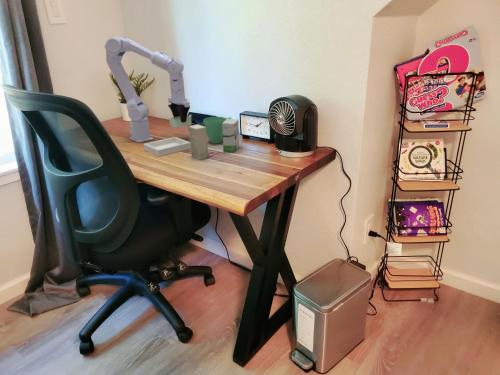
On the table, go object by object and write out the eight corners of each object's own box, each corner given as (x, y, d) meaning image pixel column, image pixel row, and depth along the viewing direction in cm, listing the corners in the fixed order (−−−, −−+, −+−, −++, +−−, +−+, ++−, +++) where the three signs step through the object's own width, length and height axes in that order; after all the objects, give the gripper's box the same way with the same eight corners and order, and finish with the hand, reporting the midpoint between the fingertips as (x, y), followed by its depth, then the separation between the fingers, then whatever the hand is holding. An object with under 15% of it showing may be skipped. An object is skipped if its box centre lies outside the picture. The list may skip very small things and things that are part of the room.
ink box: (234, 152, 156) (233, 123, 152) (223, 152, 157) (221, 123, 153) (239, 146, 164) (238, 118, 160) (228, 145, 165) (227, 118, 161)
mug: (214, 146, 164) (212, 123, 160) (200, 142, 171) (198, 119, 167) (240, 139, 174) (239, 117, 170) (226, 135, 180) (225, 113, 176)
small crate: (170, 126, 172) (169, 118, 171) (185, 122, 177) (184, 115, 176) (175, 128, 169) (175, 120, 168) (191, 124, 174) (190, 117, 172)
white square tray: (144, 149, 163) (143, 143, 162) (175, 142, 172) (175, 136, 171) (158, 156, 154) (157, 150, 153) (191, 148, 163) (190, 142, 162)
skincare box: (208, 157, 152) (206, 126, 147) (198, 160, 149) (196, 129, 144) (200, 153, 156) (198, 123, 151) (190, 156, 154) (188, 125, 149)
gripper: (194, 90, 164) (197, 122, 170) (176, 86, 174) (179, 117, 180) (180, 92, 160) (183, 125, 165) (162, 88, 170) (166, 119, 176)
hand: (180, 121), depth 172 cm, fingers closed on small crate, 5 cm apart
